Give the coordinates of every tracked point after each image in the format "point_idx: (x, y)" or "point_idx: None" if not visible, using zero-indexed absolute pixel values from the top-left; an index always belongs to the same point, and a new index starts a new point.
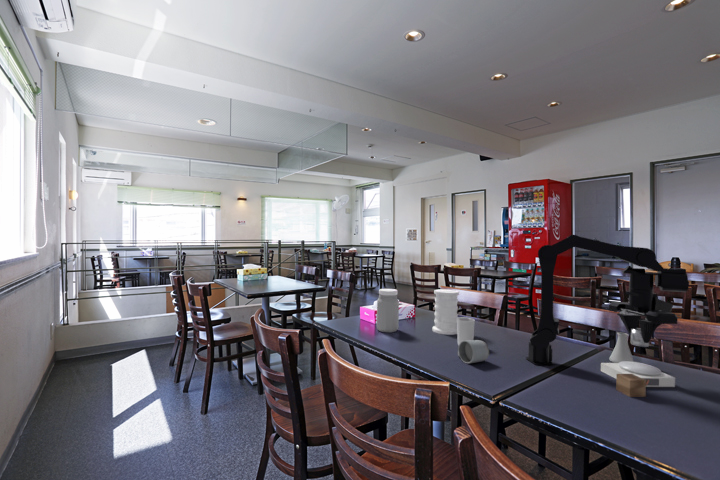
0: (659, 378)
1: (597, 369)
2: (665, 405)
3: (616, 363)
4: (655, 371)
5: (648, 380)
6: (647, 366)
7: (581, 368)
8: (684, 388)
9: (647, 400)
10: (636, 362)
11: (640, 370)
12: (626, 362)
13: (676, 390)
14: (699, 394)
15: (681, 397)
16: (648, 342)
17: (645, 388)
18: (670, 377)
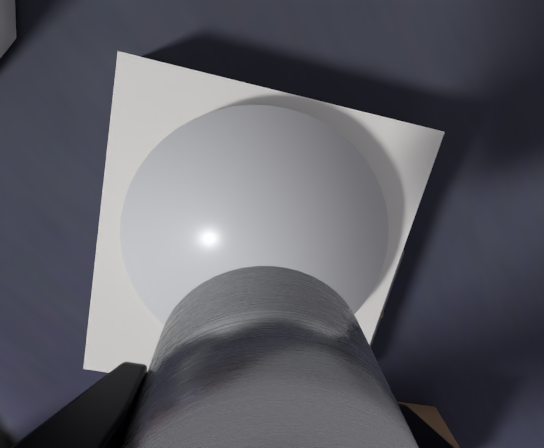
0: (401, 242)
1: (74, 329)
2: (521, 406)
3: (106, 272)
4: (361, 218)
5: (381, 315)
6: (262, 164)
7: (50, 404)
8: (452, 86)
9: (462, 431)
10: (161, 158)
11: None
12: (150, 245)
13: (450, 176)
14: (537, 98)
15: (511, 252)
16: (406, 411)
17: (454, 439)
18: (429, 162)
